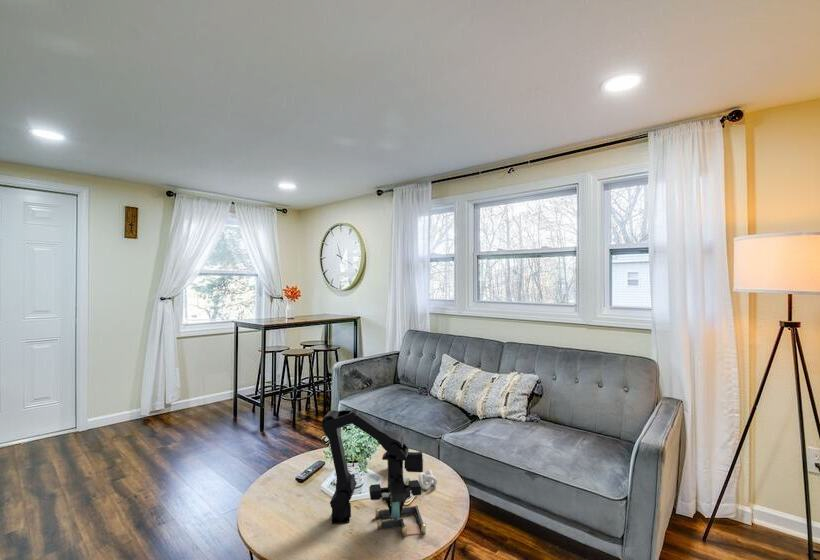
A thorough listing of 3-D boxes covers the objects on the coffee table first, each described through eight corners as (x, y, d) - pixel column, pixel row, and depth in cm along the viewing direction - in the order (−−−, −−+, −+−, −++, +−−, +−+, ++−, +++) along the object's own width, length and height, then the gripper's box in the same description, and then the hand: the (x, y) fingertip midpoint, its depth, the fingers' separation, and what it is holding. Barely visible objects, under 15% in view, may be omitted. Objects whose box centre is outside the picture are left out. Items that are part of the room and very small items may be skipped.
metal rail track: (379, 540, 132) (379, 531, 132) (375, 516, 145) (375, 508, 145) (426, 534, 135) (426, 526, 135) (417, 511, 149) (417, 503, 149)
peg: (391, 520, 141) (391, 501, 141) (390, 514, 144) (390, 496, 144) (400, 519, 141) (400, 500, 141) (398, 513, 144) (398, 495, 144)
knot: (416, 482, 170) (416, 468, 170) (433, 480, 172) (433, 467, 171) (419, 491, 163) (419, 477, 162) (438, 489, 164) (438, 475, 164)
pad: (406, 535, 135) (406, 534, 135) (404, 526, 140) (404, 525, 140) (420, 533, 136) (420, 532, 136) (417, 524, 141) (417, 523, 141)
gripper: (371, 484, 133) (372, 530, 133) (425, 479, 136) (425, 523, 136) (369, 468, 144) (369, 510, 144) (418, 464, 147) (418, 505, 147)
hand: (395, 512), depth 142 cm, fingers closed on peg, 3 cm apart
